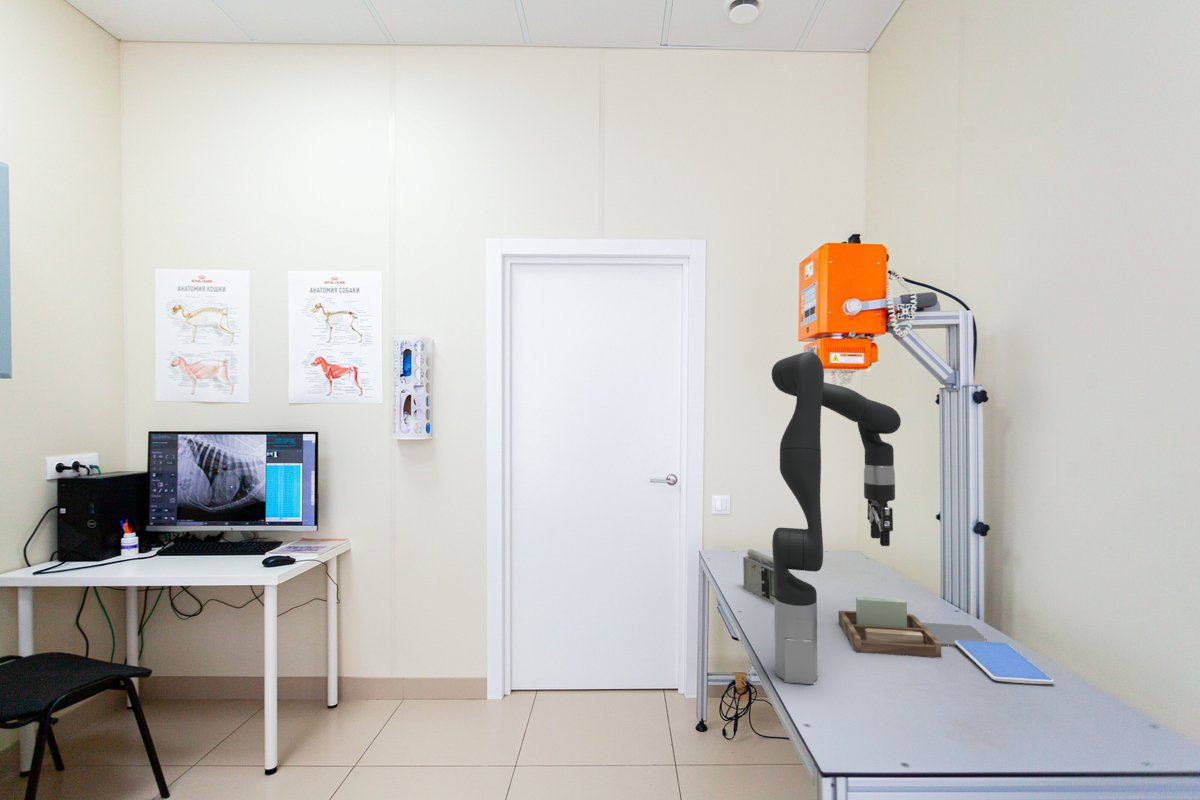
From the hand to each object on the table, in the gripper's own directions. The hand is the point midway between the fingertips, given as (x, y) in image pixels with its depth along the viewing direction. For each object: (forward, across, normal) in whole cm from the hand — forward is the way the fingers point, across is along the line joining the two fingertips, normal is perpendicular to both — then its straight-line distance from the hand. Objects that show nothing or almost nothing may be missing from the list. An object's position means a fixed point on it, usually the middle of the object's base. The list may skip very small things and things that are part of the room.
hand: (879, 541), depth 153 cm
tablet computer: (+24, -15, -22) cm, 36 cm away
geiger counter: (+25, +22, +26) cm, 42 cm away
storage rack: (+24, -4, 0) cm, 25 cm away
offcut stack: (+24, -9, 0) cm, 26 cm away
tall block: (+24, 0, 0) cm, 25 cm away
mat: (+24, +1, -18) cm, 30 cm away
